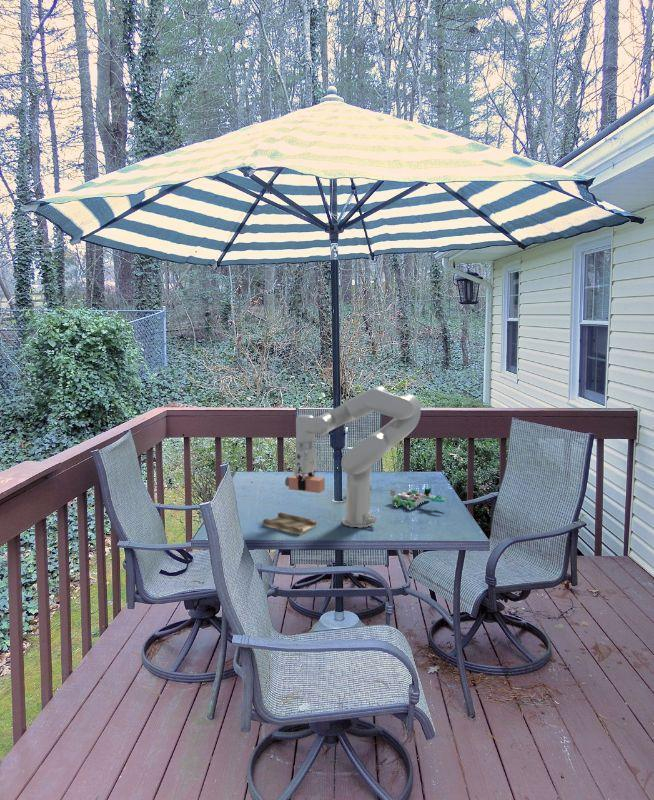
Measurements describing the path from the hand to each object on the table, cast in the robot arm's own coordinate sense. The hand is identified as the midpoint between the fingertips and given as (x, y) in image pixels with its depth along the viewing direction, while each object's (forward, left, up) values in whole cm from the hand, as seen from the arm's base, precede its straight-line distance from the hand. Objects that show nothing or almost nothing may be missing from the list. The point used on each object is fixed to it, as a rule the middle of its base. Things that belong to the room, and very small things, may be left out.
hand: (306, 487), depth 247 cm
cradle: (-1, +13, -13) cm, 18 cm away
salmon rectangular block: (0, 0, -1) cm, 1 cm away
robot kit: (-33, -42, -13) cm, 55 cm away
